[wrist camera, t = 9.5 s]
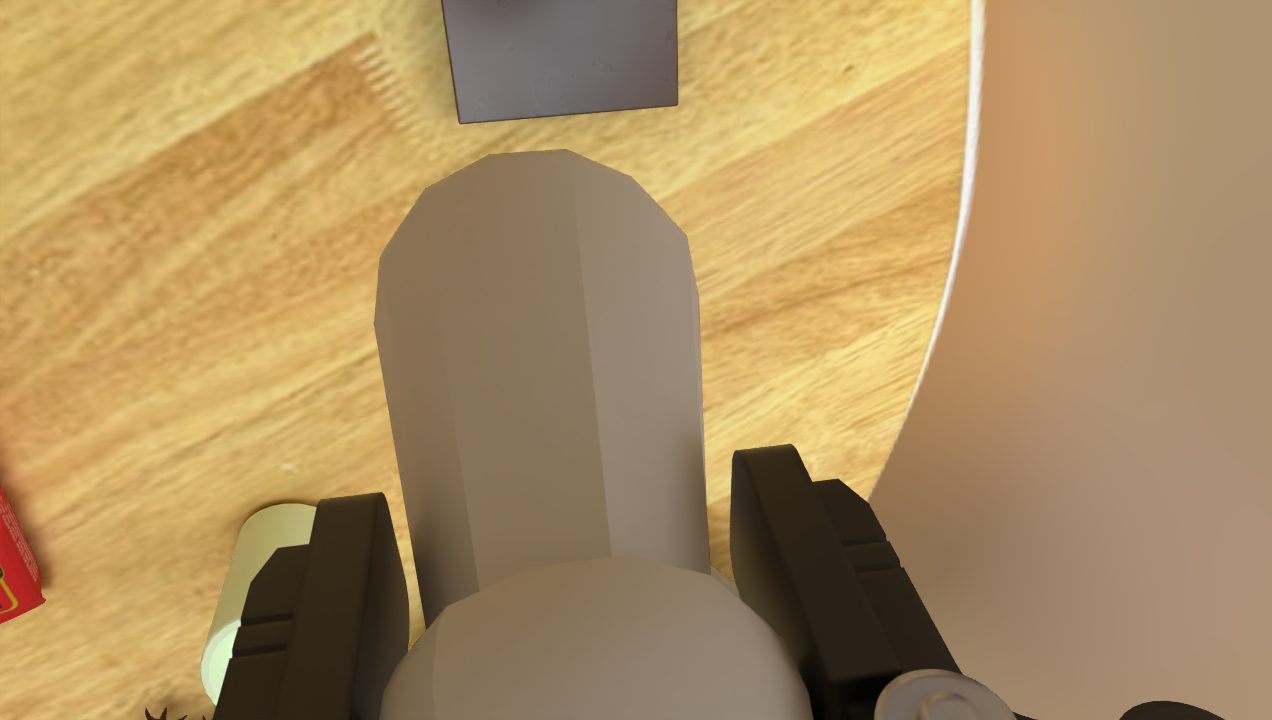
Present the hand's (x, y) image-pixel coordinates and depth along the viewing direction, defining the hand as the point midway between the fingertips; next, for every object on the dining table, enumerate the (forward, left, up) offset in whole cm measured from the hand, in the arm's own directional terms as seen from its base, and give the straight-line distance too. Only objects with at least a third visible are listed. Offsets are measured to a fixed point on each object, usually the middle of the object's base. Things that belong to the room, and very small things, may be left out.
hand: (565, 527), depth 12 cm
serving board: (+2, +2, -25) cm, 25 cm away
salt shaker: (0, 0, -8) cm, 8 cm away
